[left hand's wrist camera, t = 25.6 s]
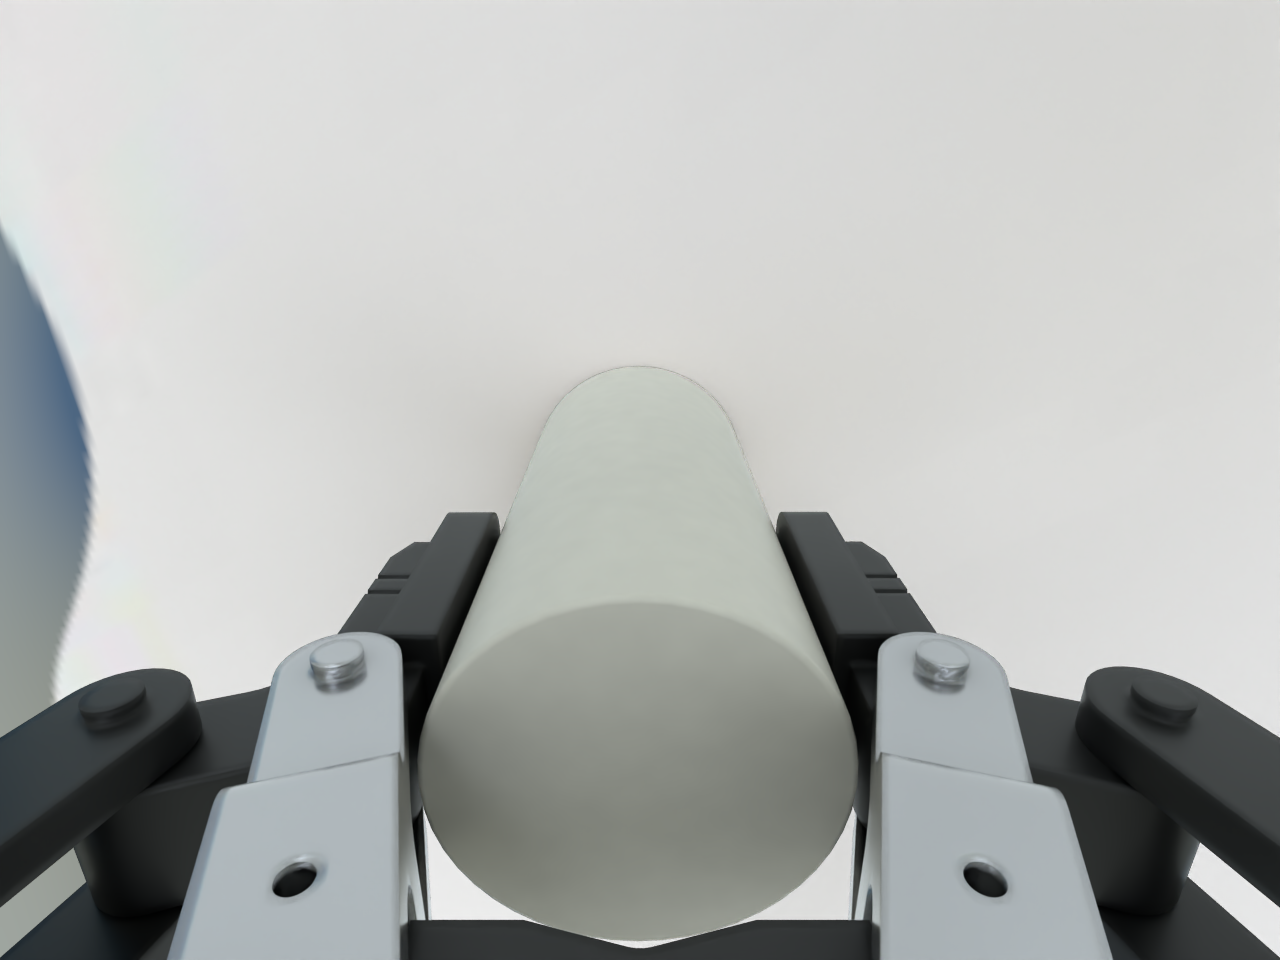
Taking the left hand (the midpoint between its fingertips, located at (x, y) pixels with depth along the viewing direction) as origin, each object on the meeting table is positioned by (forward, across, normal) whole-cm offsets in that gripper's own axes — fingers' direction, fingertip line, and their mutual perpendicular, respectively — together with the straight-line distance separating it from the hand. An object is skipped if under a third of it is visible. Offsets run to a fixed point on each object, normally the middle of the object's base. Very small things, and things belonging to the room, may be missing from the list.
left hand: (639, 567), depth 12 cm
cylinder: (+5, 0, 0) cm, 5 cm away
